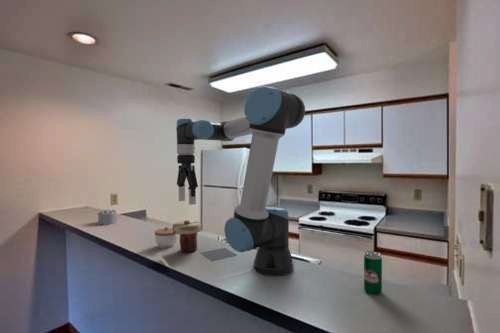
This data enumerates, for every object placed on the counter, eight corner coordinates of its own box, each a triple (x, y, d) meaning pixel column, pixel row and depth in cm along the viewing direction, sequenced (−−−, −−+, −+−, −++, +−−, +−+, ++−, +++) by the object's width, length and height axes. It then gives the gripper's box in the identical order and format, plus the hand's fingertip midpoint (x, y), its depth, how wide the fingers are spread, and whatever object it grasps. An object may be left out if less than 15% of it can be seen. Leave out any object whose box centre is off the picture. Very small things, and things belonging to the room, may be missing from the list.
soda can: (361, 291, 83) (361, 253, 83) (367, 286, 86) (367, 249, 86) (378, 297, 79) (378, 257, 79) (384, 291, 83) (384, 253, 83)
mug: (184, 248, 126) (183, 226, 126) (201, 249, 124) (201, 227, 124) (171, 257, 114) (171, 233, 114) (190, 259, 112) (190, 234, 112)
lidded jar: (169, 251, 122) (169, 230, 122) (149, 249, 126) (149, 229, 126) (182, 244, 132) (182, 225, 132) (164, 242, 136) (164, 224, 136)
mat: (237, 257, 113) (237, 255, 113) (211, 263, 107) (211, 261, 107) (224, 249, 124) (224, 247, 123) (200, 254, 117) (200, 252, 117)
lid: (204, 231, 117) (204, 222, 117) (177, 235, 111) (177, 225, 111) (195, 226, 127) (195, 217, 127) (169, 229, 121) (169, 220, 121)
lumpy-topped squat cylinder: (113, 220, 189) (113, 208, 188) (119, 223, 179) (119, 210, 179) (96, 222, 181) (96, 210, 181) (102, 226, 172) (102, 212, 172)
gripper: (205, 153, 110) (206, 205, 110) (184, 155, 131) (185, 198, 131) (187, 153, 106) (188, 206, 106) (169, 155, 127) (170, 200, 127)
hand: (186, 202), depth 118 cm, fingers open, 13 cm apart
